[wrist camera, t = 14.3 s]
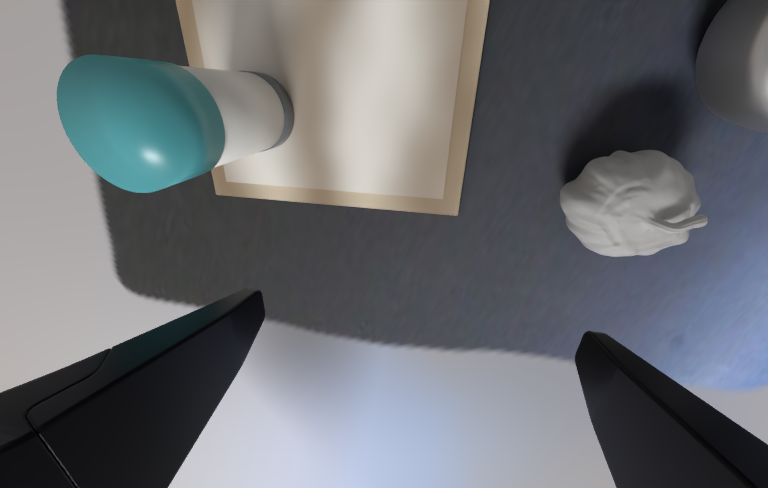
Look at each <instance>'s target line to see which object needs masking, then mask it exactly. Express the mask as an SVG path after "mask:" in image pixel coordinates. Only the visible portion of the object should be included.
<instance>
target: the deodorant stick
mask: <svg viewBox="0 0 768 488" xmlns="http://www.w3.org/2000/svg"><path fill="white" fill-rule="evenodd" d="M57 104H58V111H59V115H60V119H61V121H62V124H63V127H64V129H65V131H66V134H67V136H68V138H69V140H70V141H71V143H72V145H73V146H74V148H75V149H76V151H77V152H78V153H79V155H80V156H81V157H82V159H83V160H84V161H85V162H86V163H87V164H88V165H89V166H90V167H91V168H92V169H93V170H94V171H95V172H96V173H97V174H99V175H100V176H101V177H103V178H104V179H105V180H107V181H109V182H110V183H112V184H114V185H116V186H118V187H120V188H122V189H125V190H128V191H132V192H138V193H149V192H154V191H158V190H160V189H163V188H166V187H169V186H172V185H174V184H177V183H180V182H183V181H186V180H188V179H191V178H194V177H197V176H199V175H202V174H205V173H207V172H209V171H210V170H211V169H213V168H214V167H217V166H220V165H223V164H226V163H229V162H232V161H235V160H237V159H240V158H243V157H246V156H249V155H252V154H255V153H258V152H262V151H266V150H269V149H272V148H275V147H278V146H280V145H281V144H283V143H284V142H285V141H286V140H287V139H288V138H289V136H290V134H291V132H292V130H293V126H294V108H293V105H292V102H291V99H290V97H289V95H288V93H287V92H286V90H285V89H284V87H283V86H282V85H281V84H280V83H279V82H278V81H277V80H275V79H274V78H273V77H271V76H269V75H267V74H264V73H261V72H252V71H229V70H218V69H207V68H196V67H185V66H178V65H175V64H172V63H169V62H163V61H154V60H144V59H134V58H125V57H115V56H105V55H95V54H94V55H85V56H81V57H78V58H76V59H74V60H73V61H71V62H70V63H69V64H68V65H67V66H66V67H65V69H64V70H63V72H62V74H61V76H60V79H59V82H58V87H57Z"/></svg>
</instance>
